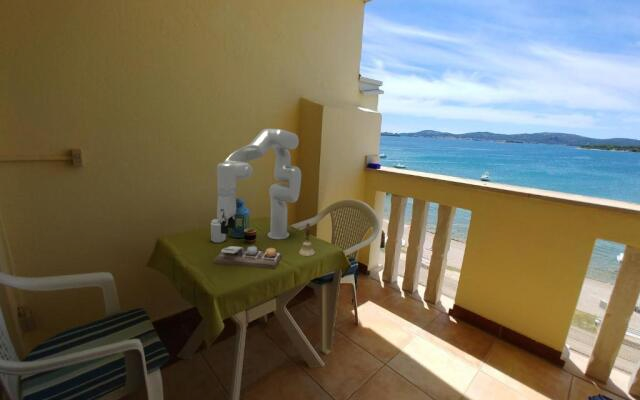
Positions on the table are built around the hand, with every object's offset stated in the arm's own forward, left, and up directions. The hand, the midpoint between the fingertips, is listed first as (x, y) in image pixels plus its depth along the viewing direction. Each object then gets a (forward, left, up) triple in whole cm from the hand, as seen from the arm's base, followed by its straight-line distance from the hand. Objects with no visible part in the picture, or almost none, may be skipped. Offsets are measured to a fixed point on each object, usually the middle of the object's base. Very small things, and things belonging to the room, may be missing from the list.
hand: (228, 230), depth 118 cm
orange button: (-4, +19, -12) cm, 22 cm away
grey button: (-5, +10, -12) cm, 16 cm away
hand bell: (-18, +34, -16) cm, 42 cm away
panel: (-5, +8, -16) cm, 18 cm away
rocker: (-5, 0, -11) cm, 12 cm away
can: (-23, -16, -16) cm, 32 cm away
